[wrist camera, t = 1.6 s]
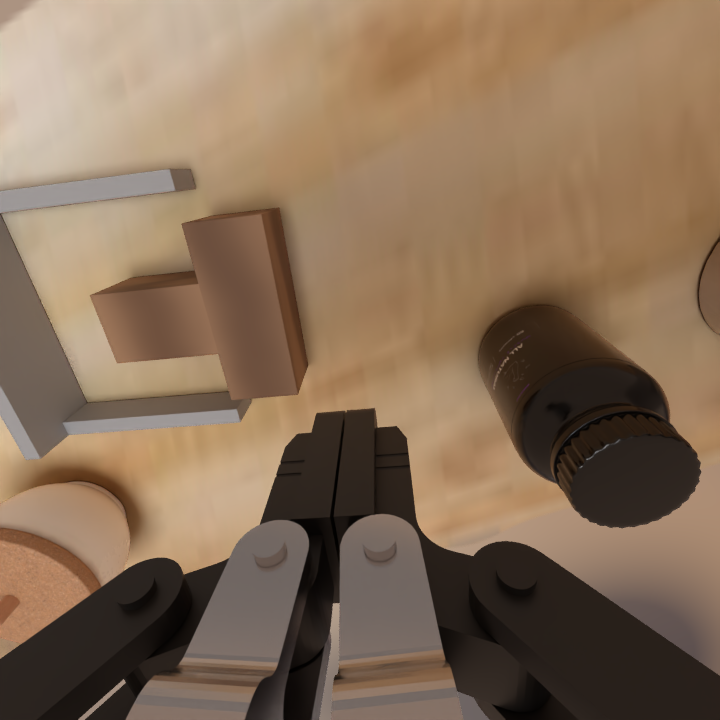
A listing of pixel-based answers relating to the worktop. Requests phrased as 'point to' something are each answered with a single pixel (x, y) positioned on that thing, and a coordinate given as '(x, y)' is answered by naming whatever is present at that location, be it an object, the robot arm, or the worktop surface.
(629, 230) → the worktop surface
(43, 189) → the grey fence
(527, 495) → the worktop surface
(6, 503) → the lidded jar
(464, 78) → the worktop surface
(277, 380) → the t block
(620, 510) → the supplement bottle
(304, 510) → the robot arm
